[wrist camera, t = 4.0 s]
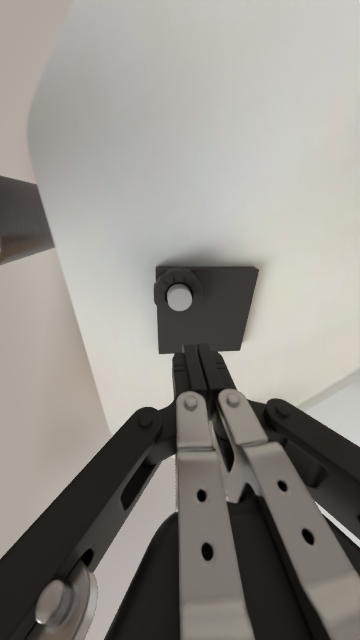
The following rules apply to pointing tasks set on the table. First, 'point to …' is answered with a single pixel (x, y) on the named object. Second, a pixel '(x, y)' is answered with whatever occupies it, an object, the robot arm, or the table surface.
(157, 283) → the scale
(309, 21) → the table surface
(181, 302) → the button
